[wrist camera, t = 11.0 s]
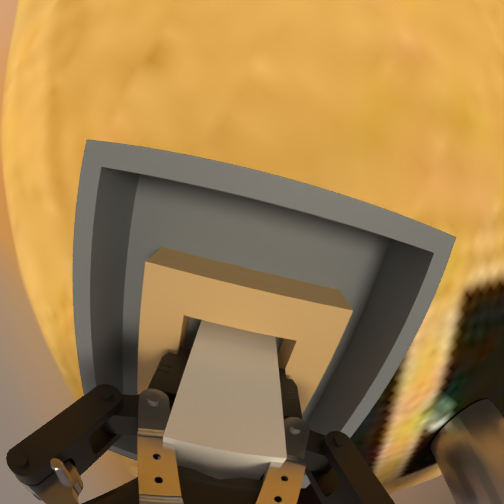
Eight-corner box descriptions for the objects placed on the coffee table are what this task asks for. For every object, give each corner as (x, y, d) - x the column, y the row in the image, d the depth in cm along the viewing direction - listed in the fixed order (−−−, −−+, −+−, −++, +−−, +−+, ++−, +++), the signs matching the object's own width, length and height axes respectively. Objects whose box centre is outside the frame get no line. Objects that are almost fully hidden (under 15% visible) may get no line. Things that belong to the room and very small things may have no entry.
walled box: (406, 217, 15) (456, 236, 10) (299, 442, 20) (305, 488, 16) (134, 145, 14) (86, 139, 9) (117, 403, 20) (96, 444, 15)
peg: (274, 325, 16) (286, 458, 7) (256, 375, 17) (255, 499, 8) (205, 308, 16) (163, 436, 7) (195, 361, 17) (160, 481, 8)
